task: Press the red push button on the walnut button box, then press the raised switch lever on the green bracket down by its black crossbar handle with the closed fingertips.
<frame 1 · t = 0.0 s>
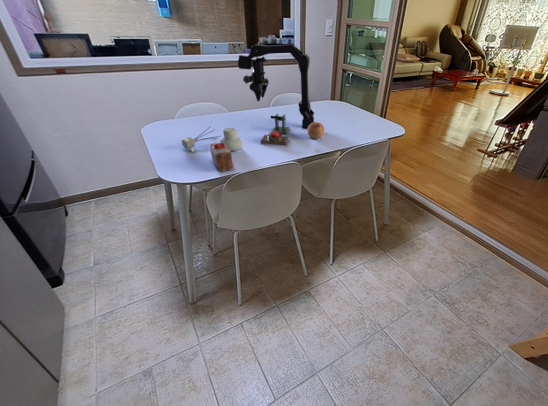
hand: (260, 99, 166), 15 cm above the table, tool pointing down, fingers open, 9 cm apart
switch lever: (278, 118, 157), point 9 cm above the table, hinge at 20.0°
air freshener: (232, 149, 141), on the table
reed diffuser: (203, 144, 144), on the table
onion: (315, 138, 160), on the table
food item: (223, 164, 127), on the table
push button: (274, 134, 149), point 4 cm above the table, slide at 0.1 cm
button box: (275, 142, 152), on the table
switch bracket: (280, 131, 166), on the table
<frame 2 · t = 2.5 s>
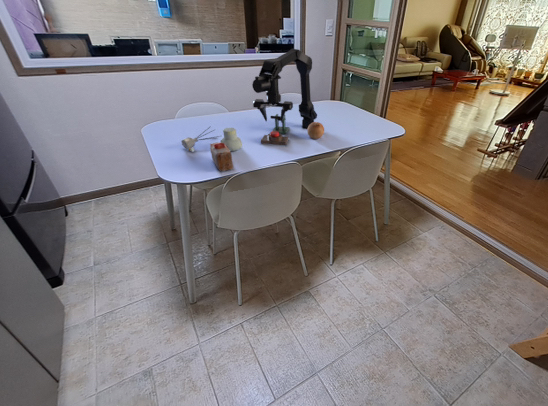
hand: (274, 121, 146), 11 cm above the table, tool pointing down, fingers open, 8 cm apart
nothing on the table moved.
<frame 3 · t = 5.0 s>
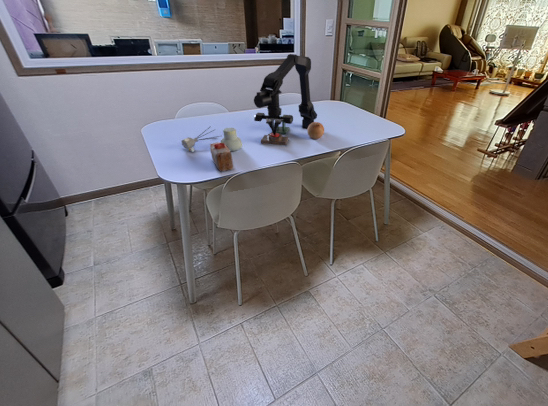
hand: (274, 134, 149), 4 cm above the table, tool pointing down, fingers closed, pressing on push button
push button: (274, 136, 150), point 3 cm above the table, slide at -0.9 cm, touching gripper
everything else where it was.
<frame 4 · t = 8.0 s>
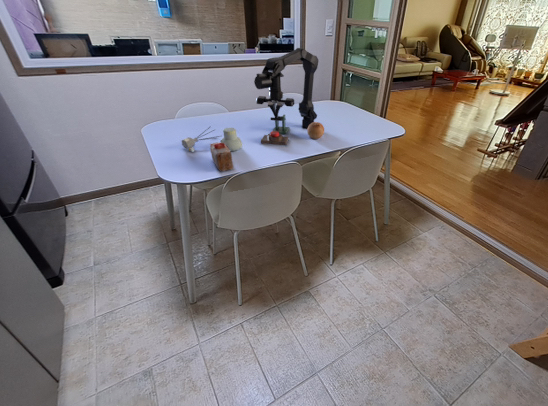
hand: (276, 117, 152), 11 cm above the table, tool pointing down, fingers closed, pressing on switch lever
switch lever: (278, 118, 157), point 9 cm above the table, hinge at 15.1°, touching gripper
push button: (274, 134, 149), point 4 cm above the table, slide at 0.1 cm
everything else where it was.
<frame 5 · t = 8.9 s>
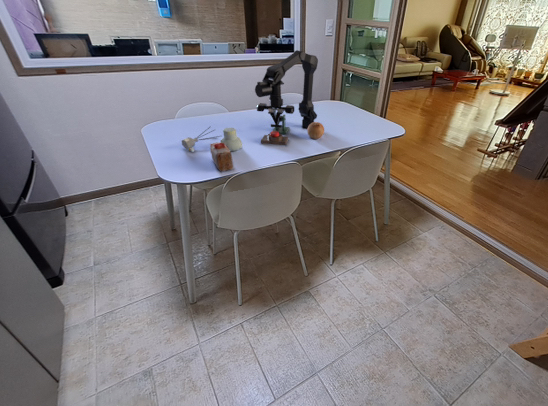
hand: (276, 124, 154), 7 cm above the table, tool pointing down, fingers closed, pressing on switch lever
switch lever: (278, 121, 158), point 7 cm above the table, hinge at -5.7°, touching gripper
everything else where it was.
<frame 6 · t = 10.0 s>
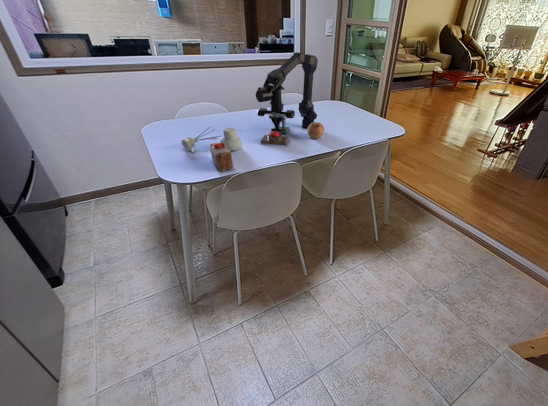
hand: (277, 128, 156), 5 cm above the table, tool pointing down, fingers closed, pressing on switch lever
switch lever: (278, 123, 159), point 6 cm above the table, hinge at -21.0°, touching gripper
everything else where it was.
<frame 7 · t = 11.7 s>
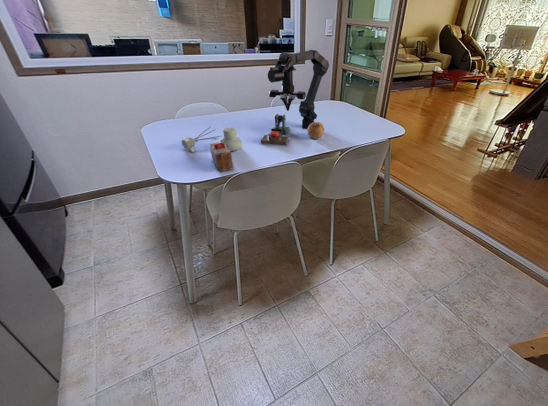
hand: (288, 110, 157), 13 cm above the table, tool pointing down, fingers closed
switch lever: (278, 123, 159), point 6 cm above the table, hinge at -21.0°
everything else where it was.
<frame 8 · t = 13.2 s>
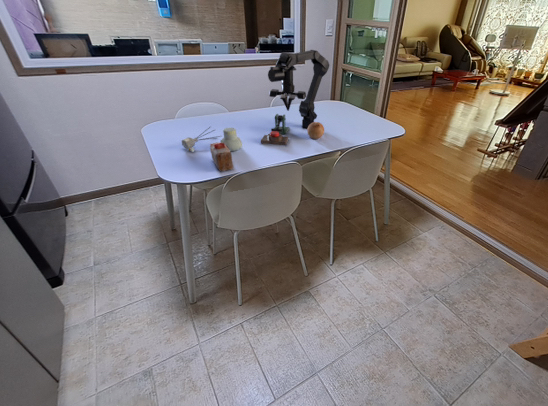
hand: (288, 110, 157), 13 cm above the table, tool pointing down, fingers closed
nothing on the table moved.
at the end: push button pushed in 1.1 cm at the most during the clip, back to where it started at the end; push button slide at 0.1 cm; switch lever at -21° (first picture: +20°) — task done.
